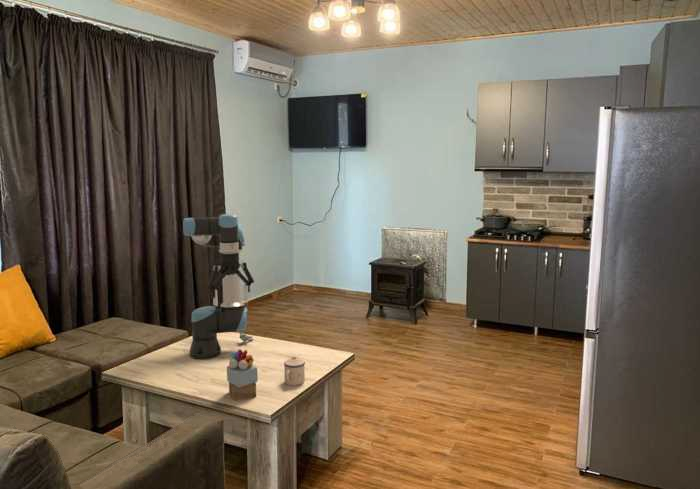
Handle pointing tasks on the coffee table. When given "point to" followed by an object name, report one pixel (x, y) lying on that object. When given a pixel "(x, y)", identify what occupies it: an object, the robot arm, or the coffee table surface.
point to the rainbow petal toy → (240, 360)
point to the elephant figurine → (245, 338)
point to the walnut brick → (242, 391)
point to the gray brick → (242, 375)
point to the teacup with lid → (294, 371)
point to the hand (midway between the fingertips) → (231, 302)
